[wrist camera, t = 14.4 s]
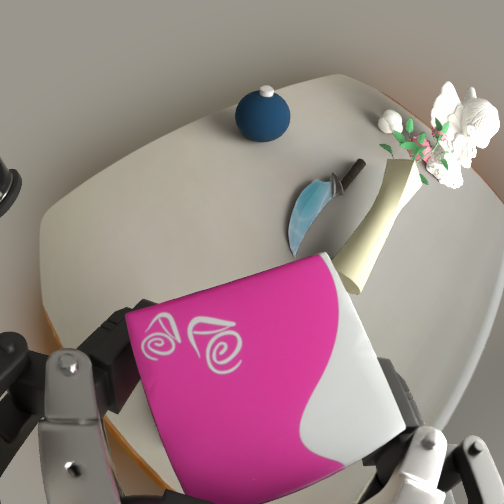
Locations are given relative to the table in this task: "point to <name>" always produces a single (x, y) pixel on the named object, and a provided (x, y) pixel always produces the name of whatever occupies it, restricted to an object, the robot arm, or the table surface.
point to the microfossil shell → (390, 122)
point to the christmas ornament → (262, 115)
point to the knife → (317, 202)
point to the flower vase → (385, 208)
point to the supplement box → (263, 383)
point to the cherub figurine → (460, 132)
